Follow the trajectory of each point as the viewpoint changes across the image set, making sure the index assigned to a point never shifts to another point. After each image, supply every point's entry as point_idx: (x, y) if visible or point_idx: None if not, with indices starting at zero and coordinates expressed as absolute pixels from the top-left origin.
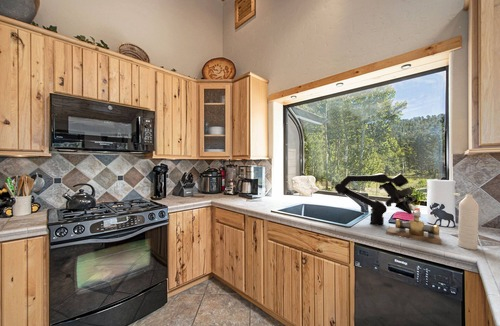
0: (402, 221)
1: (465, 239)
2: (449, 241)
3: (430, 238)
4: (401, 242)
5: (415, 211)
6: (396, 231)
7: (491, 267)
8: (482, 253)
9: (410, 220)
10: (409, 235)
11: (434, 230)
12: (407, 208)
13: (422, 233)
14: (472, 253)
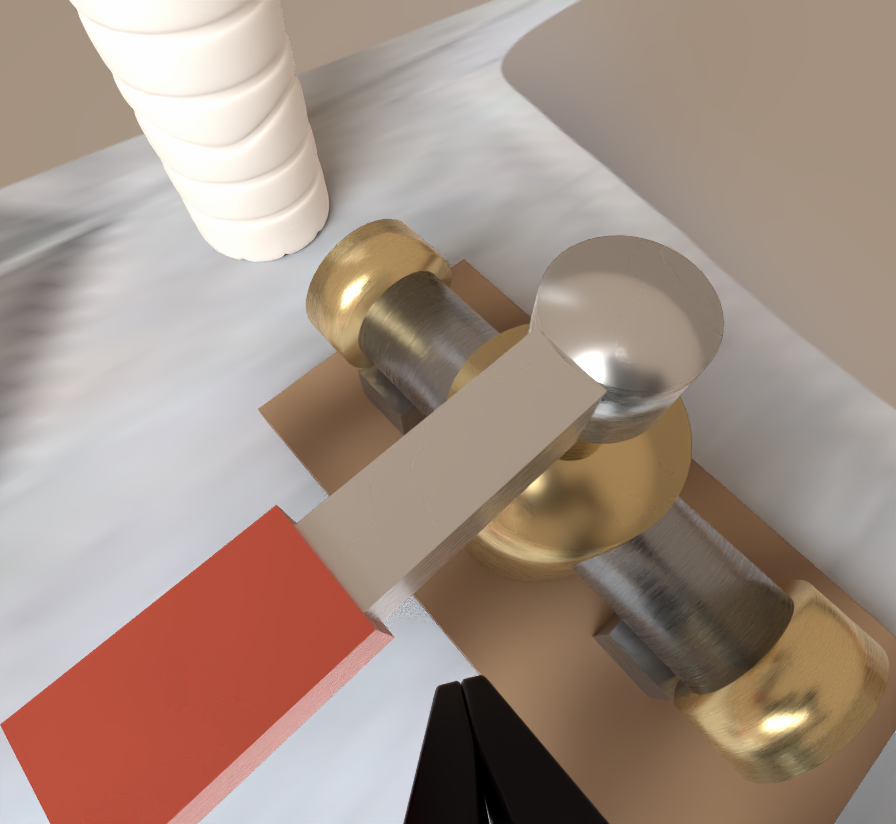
0: (749, 600)
1: (308, 121)
2: (273, 330)
3: None
4: (843, 377)
5: (610, 368)
6: None
7: (499, 9)
8: None
9: (621, 519)
10: None
11: (446, 269)
12: (586, 806)
13: None
14: (382, 131)
